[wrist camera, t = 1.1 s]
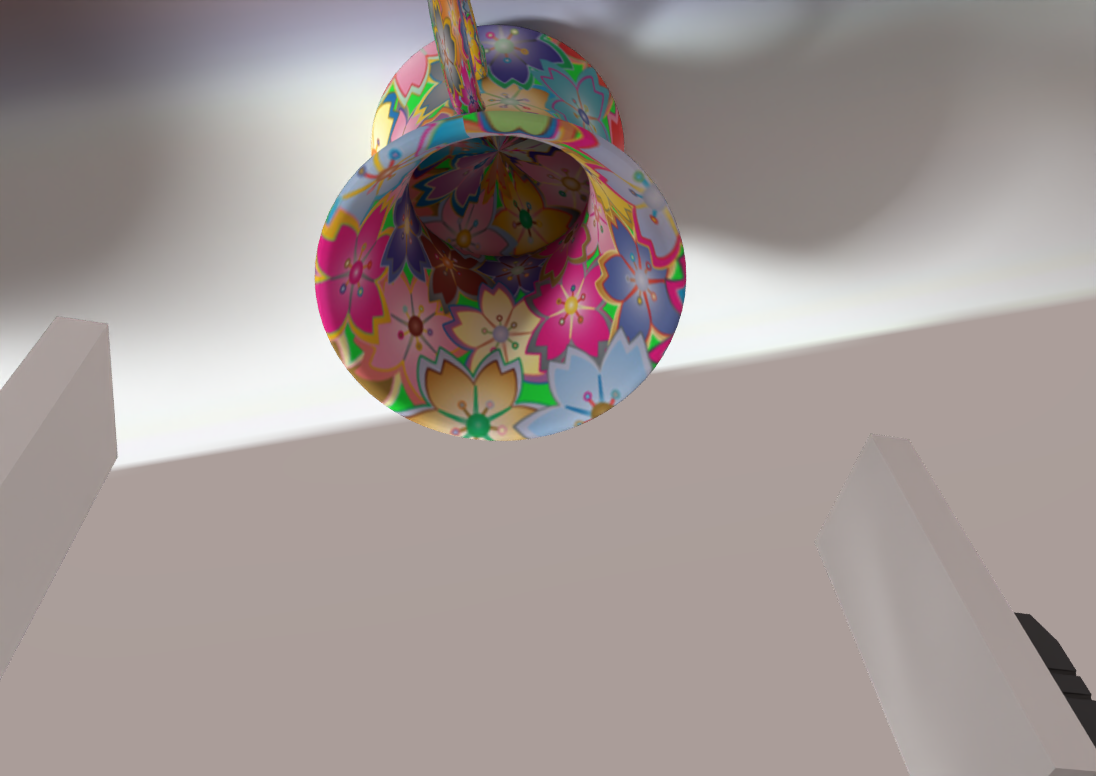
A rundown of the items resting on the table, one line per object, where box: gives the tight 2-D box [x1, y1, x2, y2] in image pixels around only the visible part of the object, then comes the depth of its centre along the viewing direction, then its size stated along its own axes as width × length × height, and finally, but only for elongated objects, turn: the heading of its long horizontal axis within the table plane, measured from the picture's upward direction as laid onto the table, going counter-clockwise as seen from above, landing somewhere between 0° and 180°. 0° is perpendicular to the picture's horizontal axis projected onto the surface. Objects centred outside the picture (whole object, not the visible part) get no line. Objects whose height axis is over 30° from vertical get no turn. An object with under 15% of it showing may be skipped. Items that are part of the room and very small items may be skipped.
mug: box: [315, 0, 686, 441], centre depth 26 cm, size 12×9×11 cm
